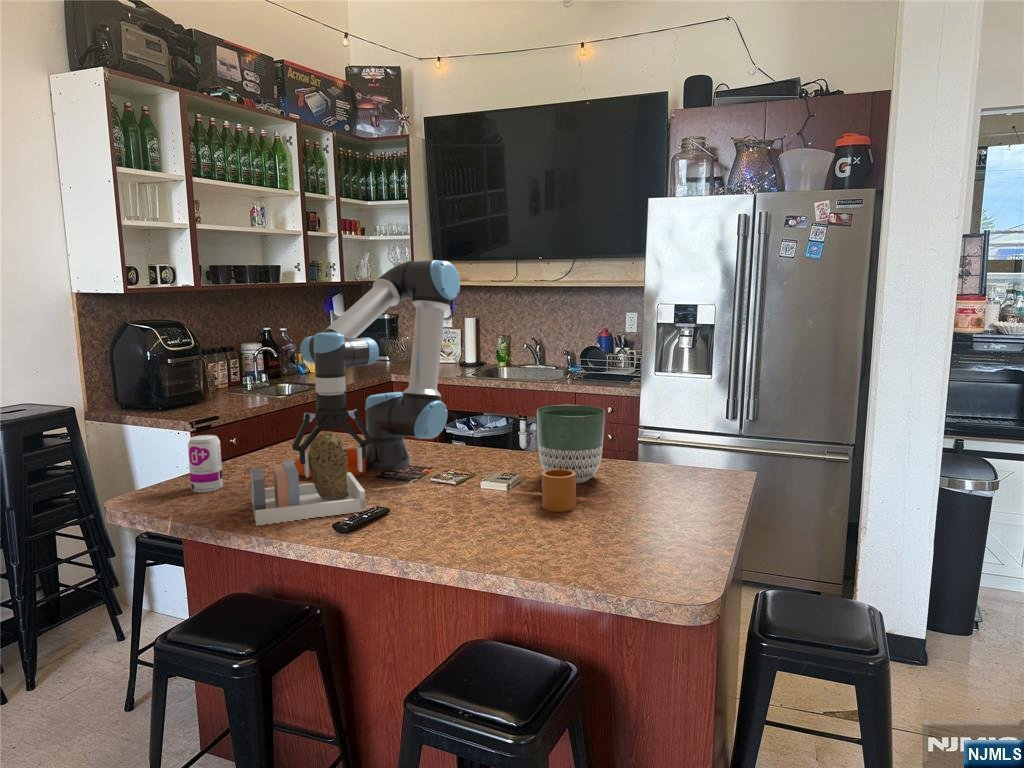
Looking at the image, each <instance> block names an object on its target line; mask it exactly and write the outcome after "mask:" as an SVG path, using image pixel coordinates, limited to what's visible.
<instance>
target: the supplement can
mask: <svg viewBox="0 0 1024 768" xmlns="http://www.w3.org/2000/svg"><path fill="white" fill-rule="evenodd" d="M187 449H188V453H187V454H188V466H189V481H190V483H189V484H190V490H191V491H193V492H194V493H200V494H201V493H211V492H215V491H218V490H220V489H221V488H223V468H222V451H221V440H220V439H219V437H218V436H217V435H215V434H202V435H196V436H192V437H190V438H189V441H188V443H187Z"/></svg>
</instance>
